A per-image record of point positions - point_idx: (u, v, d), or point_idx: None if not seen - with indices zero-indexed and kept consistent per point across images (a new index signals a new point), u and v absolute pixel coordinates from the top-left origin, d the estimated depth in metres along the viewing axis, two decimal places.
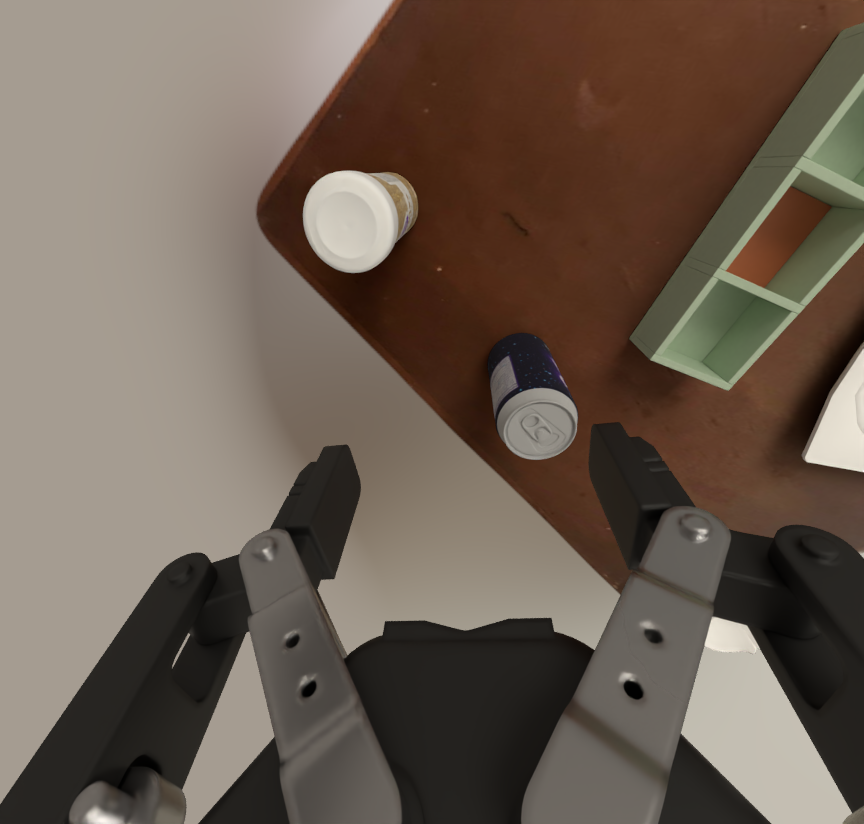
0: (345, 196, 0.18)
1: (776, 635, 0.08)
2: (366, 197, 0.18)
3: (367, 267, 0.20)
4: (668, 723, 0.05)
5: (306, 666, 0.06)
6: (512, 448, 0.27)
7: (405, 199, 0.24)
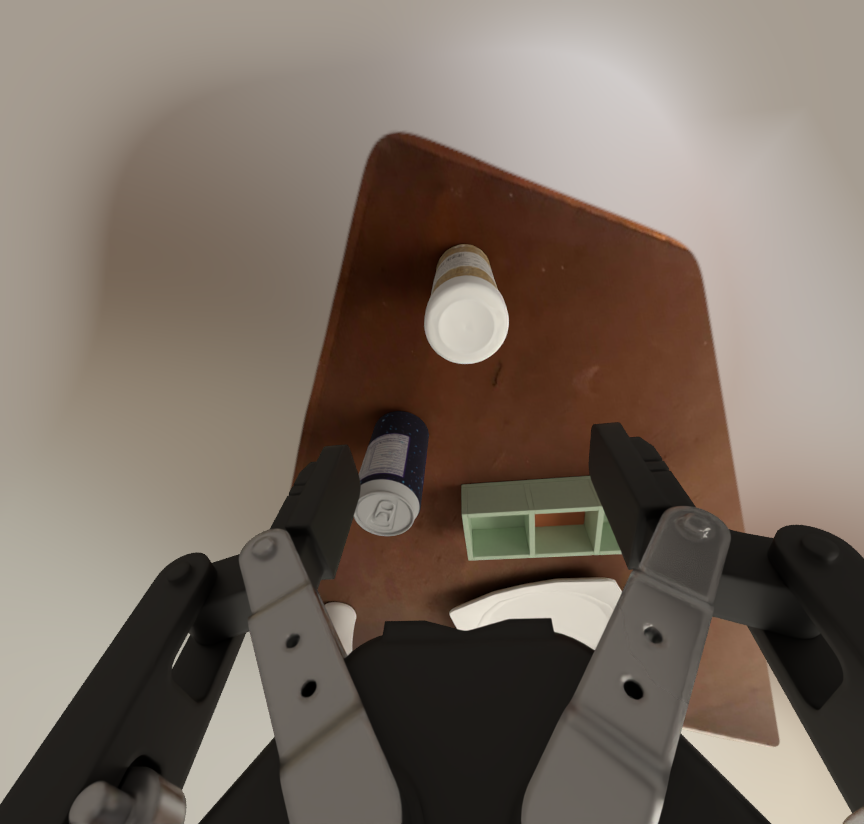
0: (488, 317, 0.20)
1: (776, 635, 0.08)
2: (495, 334, 0.20)
3: (441, 354, 0.21)
4: (668, 723, 0.05)
5: (306, 666, 0.06)
6: None
7: None
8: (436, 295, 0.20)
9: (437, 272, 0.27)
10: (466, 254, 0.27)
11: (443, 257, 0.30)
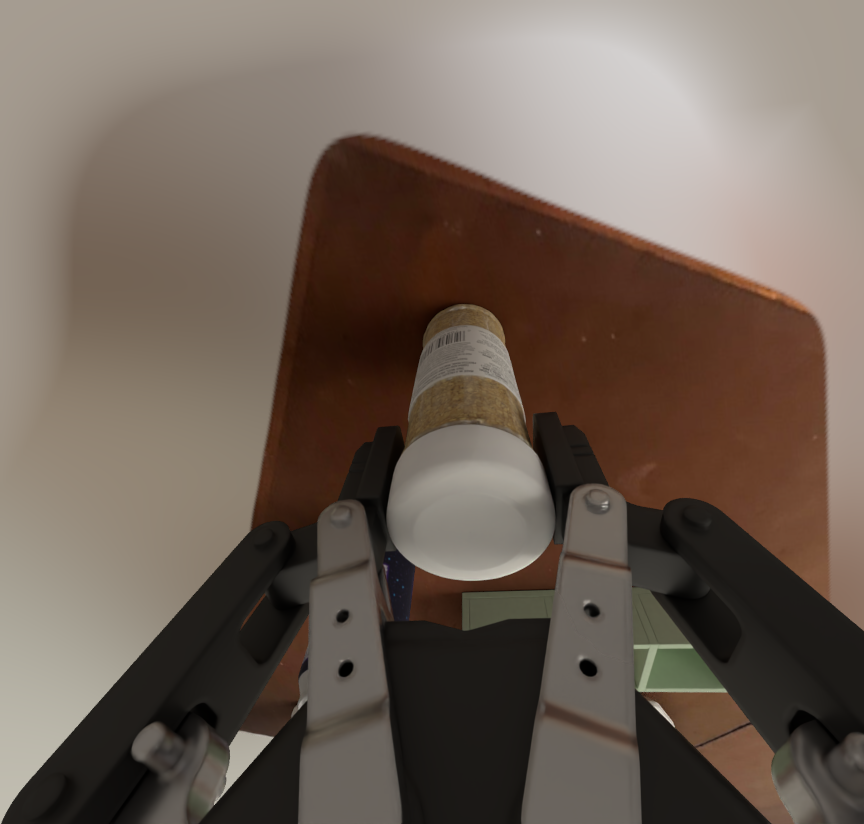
0: (516, 520, 0.10)
1: (680, 602, 0.08)
2: (529, 545, 0.10)
3: (421, 568, 0.11)
4: (623, 689, 0.05)
5: (348, 645, 0.06)
6: (301, 701, 0.20)
7: None
8: (407, 478, 0.10)
9: (421, 364, 0.16)
10: (468, 334, 0.16)
11: (433, 324, 0.20)
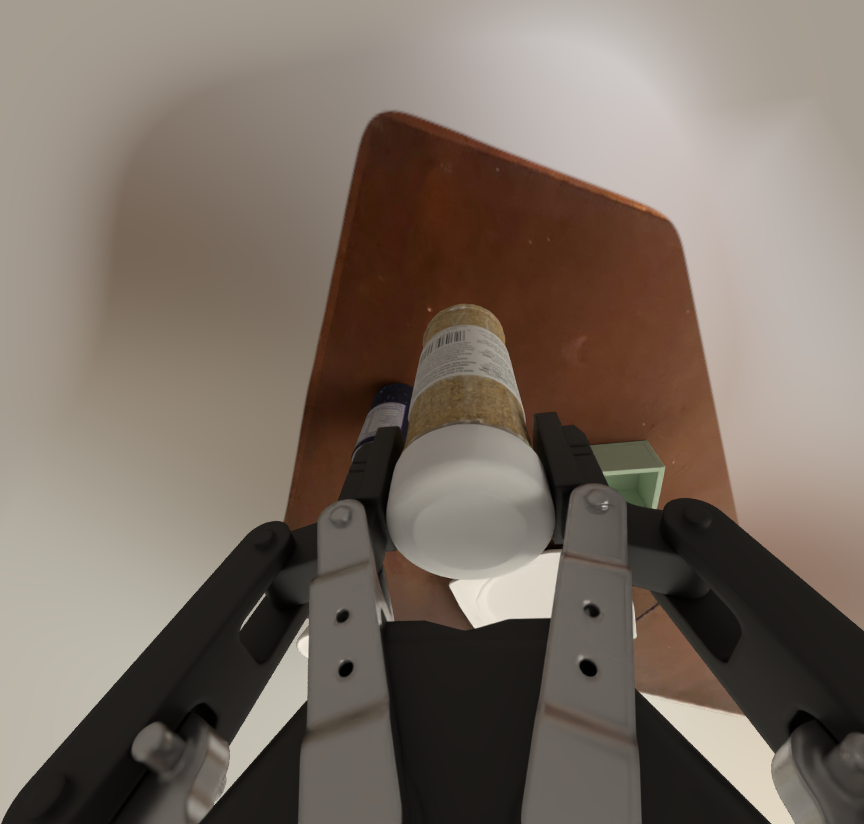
0: (515, 520, 0.10)
1: (680, 601, 0.08)
2: (528, 545, 0.10)
3: (421, 567, 0.11)
4: (623, 688, 0.05)
5: (348, 646, 0.06)
6: None
7: None
8: (407, 477, 0.10)
9: (421, 363, 0.16)
10: (468, 334, 0.16)
11: (433, 324, 0.20)
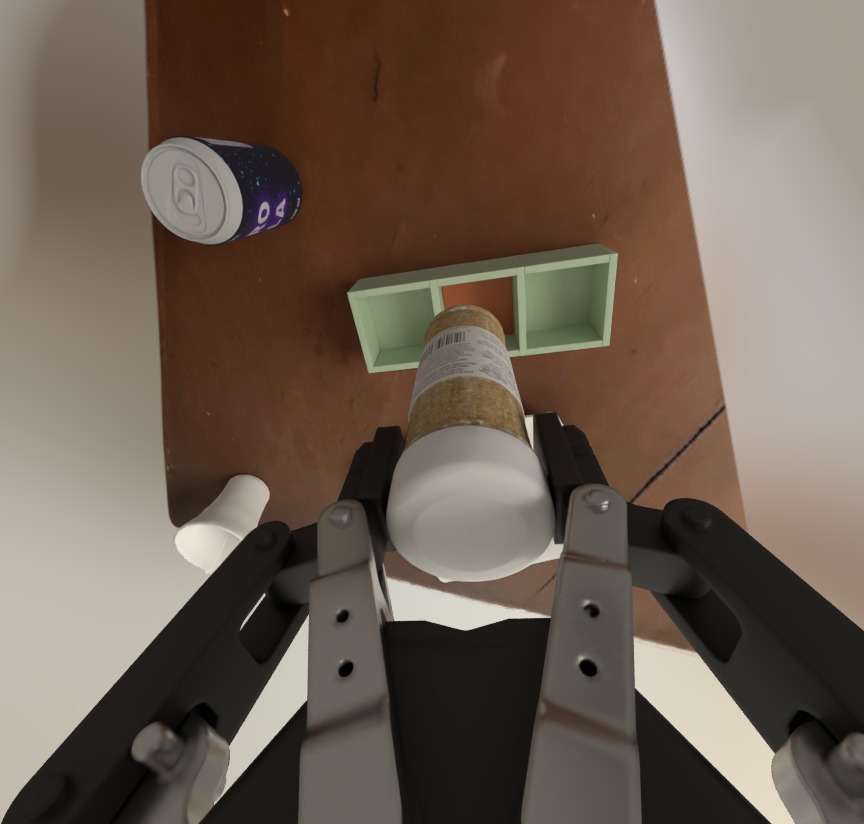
0: (515, 522, 0.10)
1: (680, 601, 0.08)
2: (528, 546, 0.10)
3: (421, 569, 0.11)
4: (623, 688, 0.05)
5: (348, 646, 0.06)
6: (145, 182, 0.22)
7: None
8: (407, 479, 0.10)
9: (421, 364, 0.16)
10: (468, 335, 0.16)
11: (433, 324, 0.20)
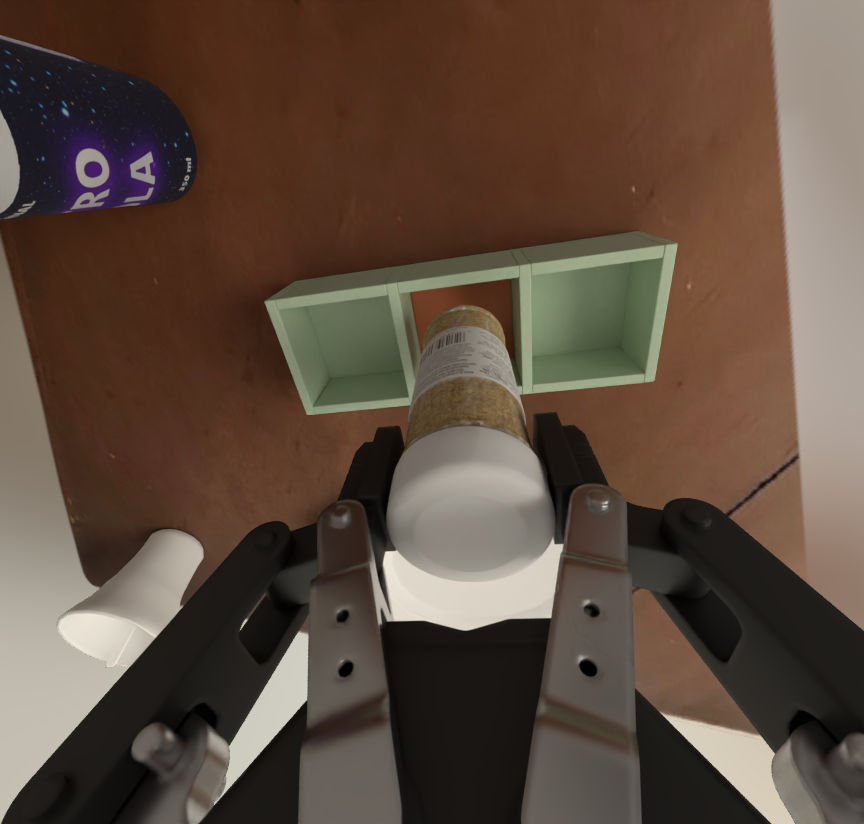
0: (516, 522, 0.10)
1: (680, 601, 0.08)
2: (529, 547, 0.10)
3: None
4: (624, 688, 0.05)
5: (348, 646, 0.06)
6: None
7: None
8: (407, 479, 0.10)
9: (421, 365, 0.16)
10: (469, 335, 0.16)
11: (433, 325, 0.20)
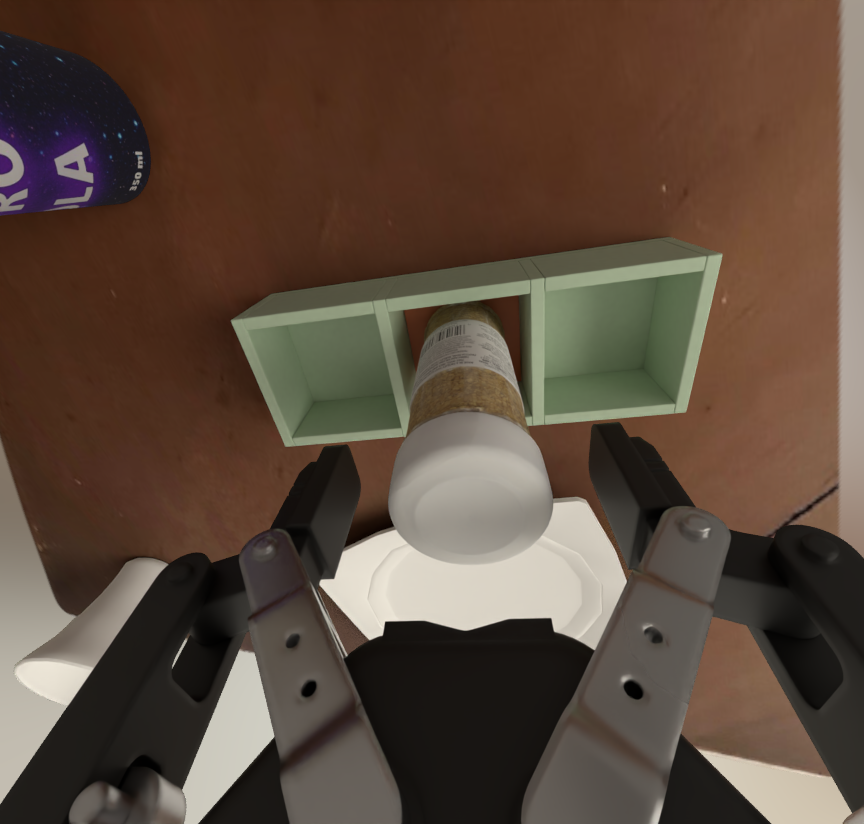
0: (514, 504, 0.10)
1: (776, 635, 0.08)
2: (527, 529, 0.10)
3: None
4: (668, 724, 0.05)
5: (306, 666, 0.06)
6: None
7: None
8: (409, 463, 0.10)
9: (422, 357, 0.17)
10: (468, 328, 0.17)
11: (434, 319, 0.20)
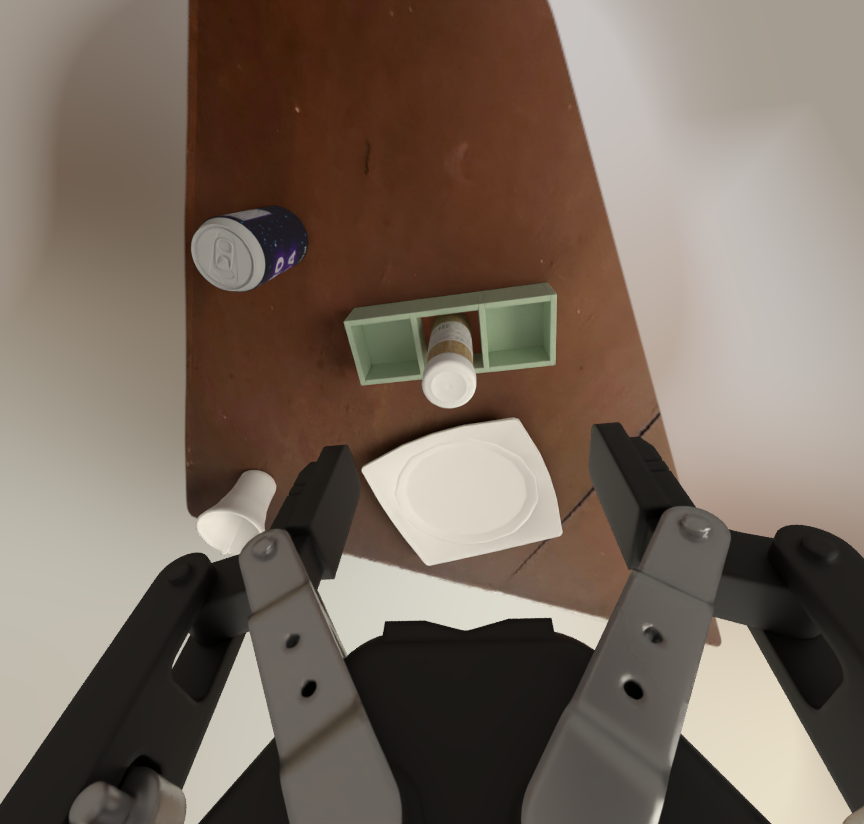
0: (462, 381, 0.31)
1: (776, 635, 0.08)
2: (467, 390, 0.32)
3: (433, 402, 0.33)
4: (668, 723, 0.05)
5: (306, 666, 0.06)
6: (194, 249, 0.29)
7: None
8: (429, 367, 0.31)
9: (431, 337, 0.38)
10: (451, 325, 0.38)
11: (436, 321, 0.42)
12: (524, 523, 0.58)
